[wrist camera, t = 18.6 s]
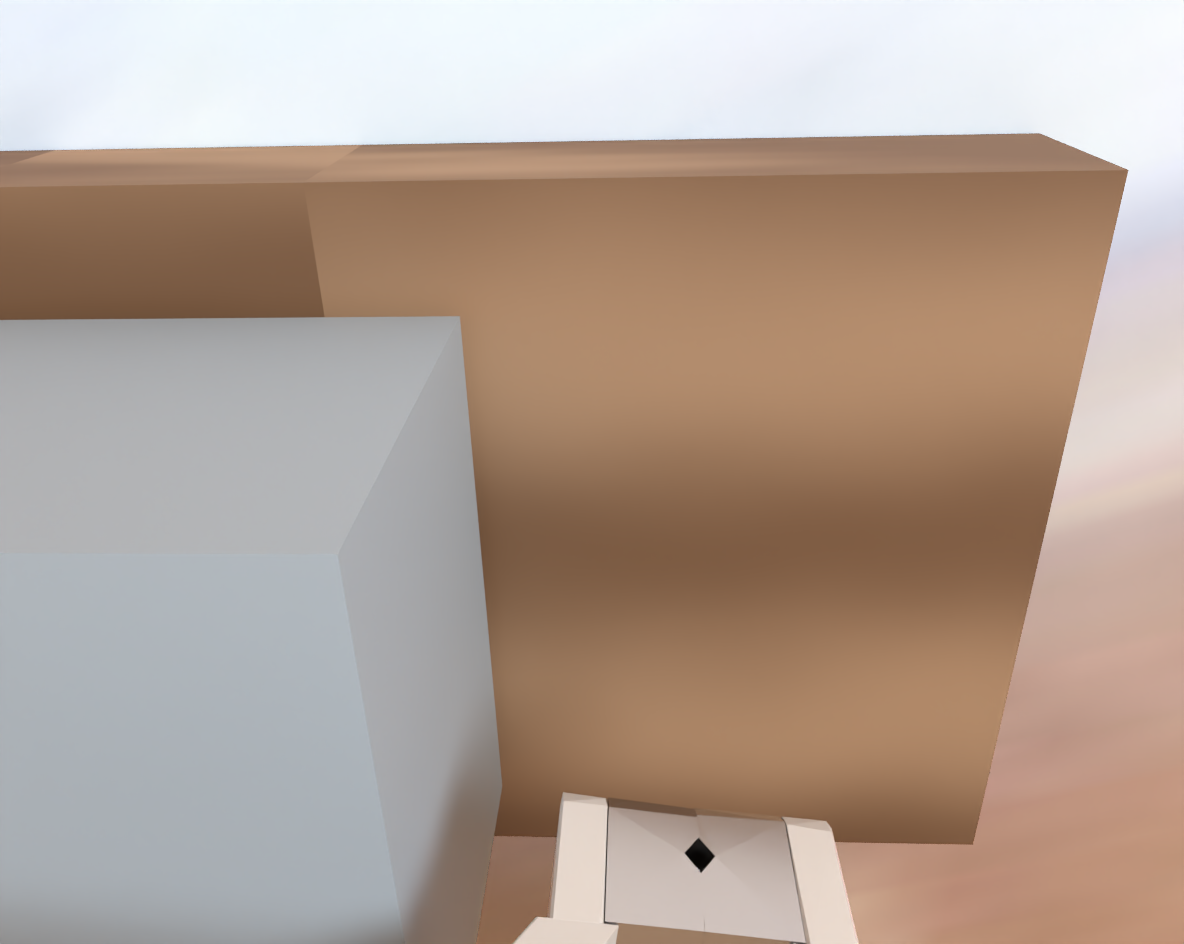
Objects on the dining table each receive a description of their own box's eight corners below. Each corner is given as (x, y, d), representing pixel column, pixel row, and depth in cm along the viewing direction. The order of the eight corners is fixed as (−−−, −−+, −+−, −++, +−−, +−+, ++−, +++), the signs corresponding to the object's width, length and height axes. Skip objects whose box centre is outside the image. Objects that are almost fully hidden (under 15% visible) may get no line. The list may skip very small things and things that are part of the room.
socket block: (928, 729, 20) (972, 844, 18) (99, 719, 21) (21, 827, 18) (1039, 133, 15) (1128, 170, 12) (-95, 152, 16) (-247, 190, 13)
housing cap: (502, 785, 17) (441, 1153, 12) (6, 778, 17) (-268, 1128, 12) (460, 316, 13) (338, 554, 8) (-185, 321, 13) (-717, 550, 8)
